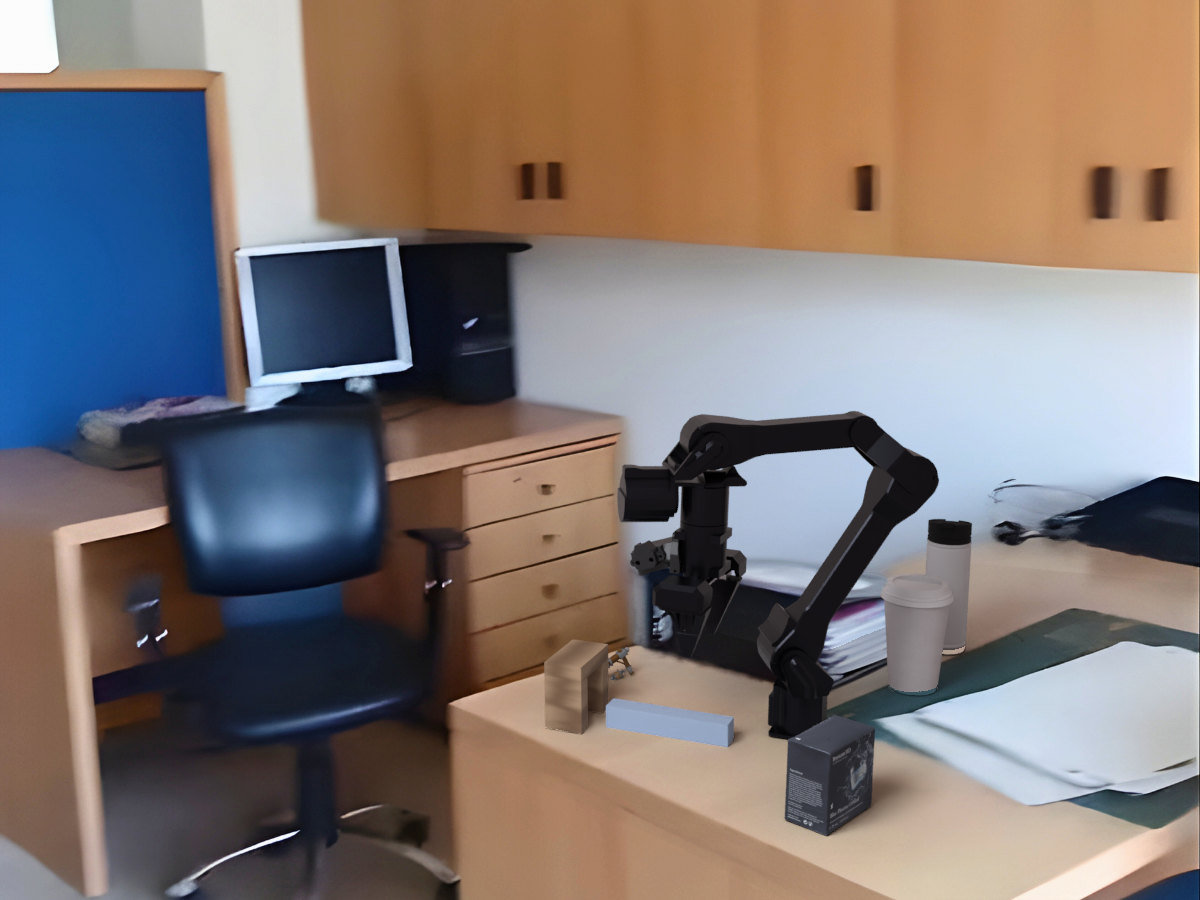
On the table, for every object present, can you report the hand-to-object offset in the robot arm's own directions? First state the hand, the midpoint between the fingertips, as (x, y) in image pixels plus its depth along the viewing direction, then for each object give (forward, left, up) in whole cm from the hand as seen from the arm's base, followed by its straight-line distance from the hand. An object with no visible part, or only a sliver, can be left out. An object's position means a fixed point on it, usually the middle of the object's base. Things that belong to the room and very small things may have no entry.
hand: (698, 645), depth 152 cm
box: (-19, +14, -12) cm, 27 cm away
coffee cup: (-22, -26, -12) cm, 37 cm away
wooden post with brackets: (+18, -13, -12) cm, 26 cm away
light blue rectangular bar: (+4, 0, -12) cm, 13 cm away
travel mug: (-24, -43, -12) cm, 51 cm away
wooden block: (+16, 0, -12) cm, 20 cm away
